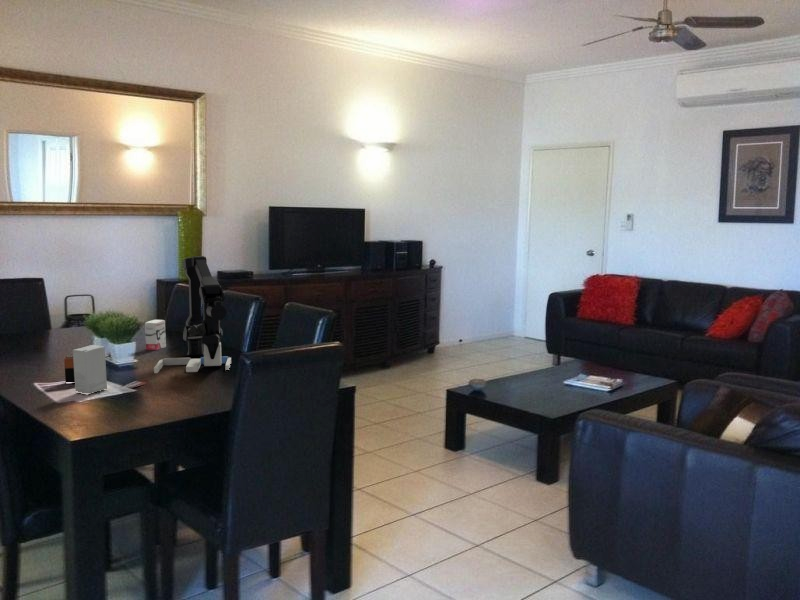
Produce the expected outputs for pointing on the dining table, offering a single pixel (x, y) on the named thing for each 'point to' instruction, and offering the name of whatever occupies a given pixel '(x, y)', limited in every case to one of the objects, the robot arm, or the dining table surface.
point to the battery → (69, 368)
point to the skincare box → (90, 369)
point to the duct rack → (188, 363)
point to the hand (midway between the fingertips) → (212, 357)
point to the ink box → (155, 334)
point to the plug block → (217, 358)
